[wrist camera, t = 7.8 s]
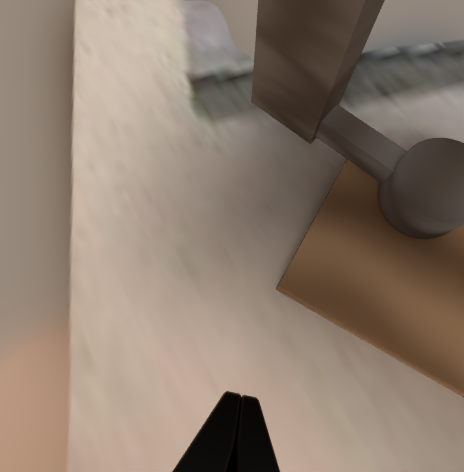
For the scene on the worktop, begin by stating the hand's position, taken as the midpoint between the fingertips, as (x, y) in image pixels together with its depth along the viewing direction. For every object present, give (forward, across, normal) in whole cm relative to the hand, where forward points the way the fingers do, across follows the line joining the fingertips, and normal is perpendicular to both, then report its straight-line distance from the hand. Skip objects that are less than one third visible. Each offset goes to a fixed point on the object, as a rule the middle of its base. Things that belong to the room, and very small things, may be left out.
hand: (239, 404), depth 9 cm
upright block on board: (+17, -7, -2) cm, 18 cm away
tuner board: (+15, -10, +3) cm, 18 cm away
